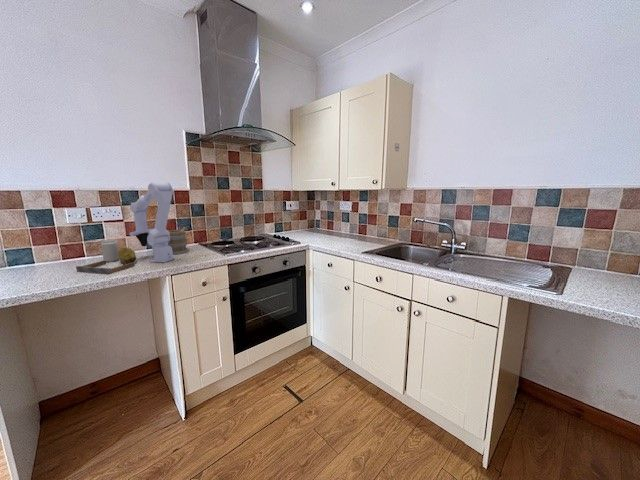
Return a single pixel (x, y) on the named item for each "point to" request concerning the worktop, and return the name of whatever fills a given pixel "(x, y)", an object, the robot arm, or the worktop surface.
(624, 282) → the worktop surface
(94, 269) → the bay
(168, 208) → the robot arm
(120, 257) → the olive green oval lump
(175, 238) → the tankard
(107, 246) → the can
